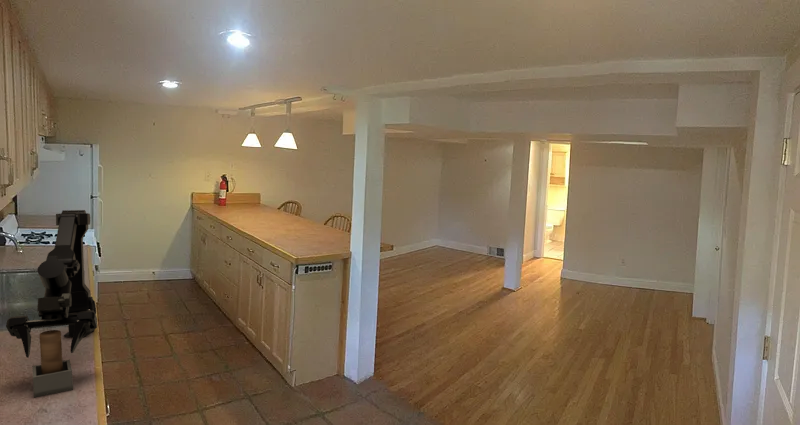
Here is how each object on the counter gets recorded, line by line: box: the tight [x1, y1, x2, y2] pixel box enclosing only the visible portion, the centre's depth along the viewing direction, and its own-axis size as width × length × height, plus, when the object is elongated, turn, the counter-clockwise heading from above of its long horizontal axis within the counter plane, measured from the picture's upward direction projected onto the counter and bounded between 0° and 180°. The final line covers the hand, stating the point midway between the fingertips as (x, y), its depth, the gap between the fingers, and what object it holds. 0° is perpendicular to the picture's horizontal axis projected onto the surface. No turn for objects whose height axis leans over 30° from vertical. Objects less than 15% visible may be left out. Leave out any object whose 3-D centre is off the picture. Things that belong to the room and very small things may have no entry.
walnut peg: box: [39, 329, 63, 375], centre depth 130 cm, size 4×4×13 cm
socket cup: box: [31, 359, 74, 398], centre depth 130 cm, size 8×8×5 cm
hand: (49, 354), depth 128 cm, fingers open, 9 cm apart
